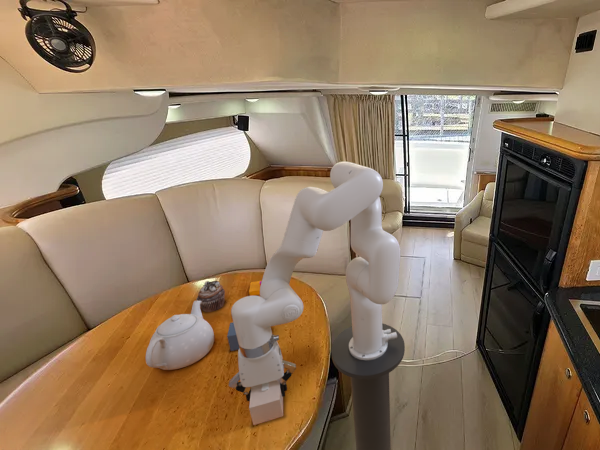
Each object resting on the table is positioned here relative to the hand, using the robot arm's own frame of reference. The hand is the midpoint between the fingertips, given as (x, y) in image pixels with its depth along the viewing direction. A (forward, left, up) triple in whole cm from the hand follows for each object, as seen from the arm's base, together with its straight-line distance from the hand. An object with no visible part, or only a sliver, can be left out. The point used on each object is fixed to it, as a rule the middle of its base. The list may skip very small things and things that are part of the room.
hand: (268, 396), depth 83 cm
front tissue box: (0, 0, -2) cm, 2 cm away
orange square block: (+5, -59, -2) cm, 59 cm away
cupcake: (+22, -53, -2) cm, 57 cm away
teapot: (+26, -28, -2) cm, 38 cm away
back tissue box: (+6, -27, -2) cm, 28 cm away
